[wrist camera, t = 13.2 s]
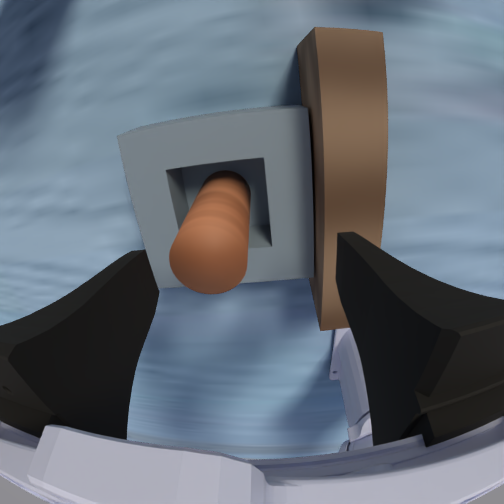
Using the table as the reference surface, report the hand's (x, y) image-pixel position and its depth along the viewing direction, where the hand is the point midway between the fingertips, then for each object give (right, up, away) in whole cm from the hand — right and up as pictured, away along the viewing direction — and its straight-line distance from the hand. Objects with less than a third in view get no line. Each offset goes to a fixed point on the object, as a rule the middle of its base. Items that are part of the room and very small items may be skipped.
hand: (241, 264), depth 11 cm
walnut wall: (+5, +6, +7) cm, 11 cm away
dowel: (-1, +4, +8) cm, 9 cm away
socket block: (-1, +5, +9) cm, 10 cm away
